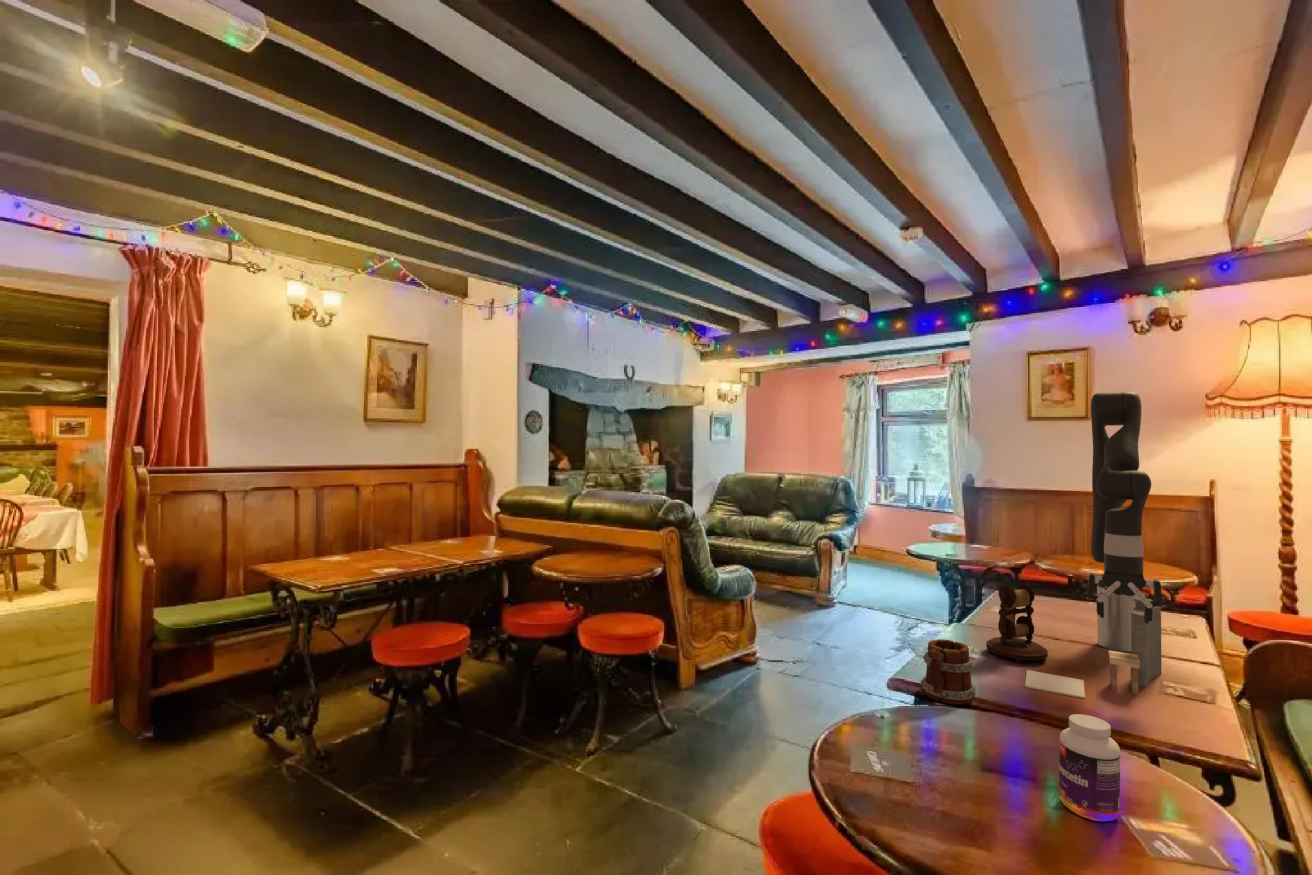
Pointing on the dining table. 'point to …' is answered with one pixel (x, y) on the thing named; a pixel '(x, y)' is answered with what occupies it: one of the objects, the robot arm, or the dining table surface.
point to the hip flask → (1146, 642)
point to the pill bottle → (1089, 765)
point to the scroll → (1016, 626)
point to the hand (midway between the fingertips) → (1123, 619)
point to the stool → (1124, 660)
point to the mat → (1055, 684)
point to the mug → (948, 672)
